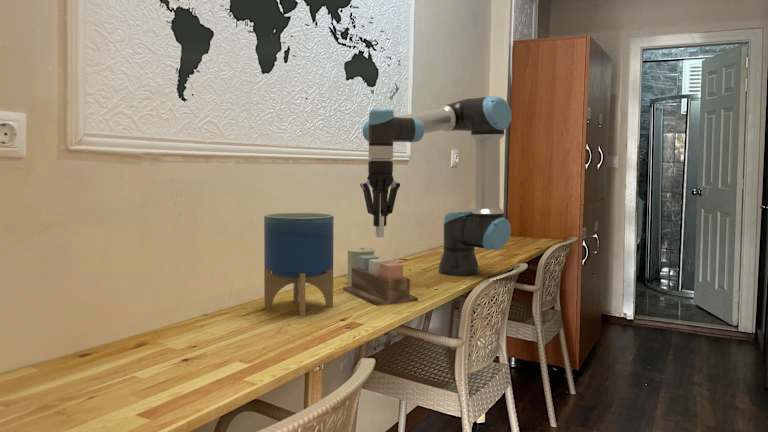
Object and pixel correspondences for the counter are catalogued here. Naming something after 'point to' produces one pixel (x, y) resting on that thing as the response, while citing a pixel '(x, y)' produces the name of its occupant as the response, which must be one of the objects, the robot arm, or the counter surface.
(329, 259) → the planter
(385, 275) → the key terracotta
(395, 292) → the brown block holder tray
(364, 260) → the grey square block
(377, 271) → the key white
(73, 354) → the counter surface
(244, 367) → the counter surface
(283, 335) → the counter surface
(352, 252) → the can
